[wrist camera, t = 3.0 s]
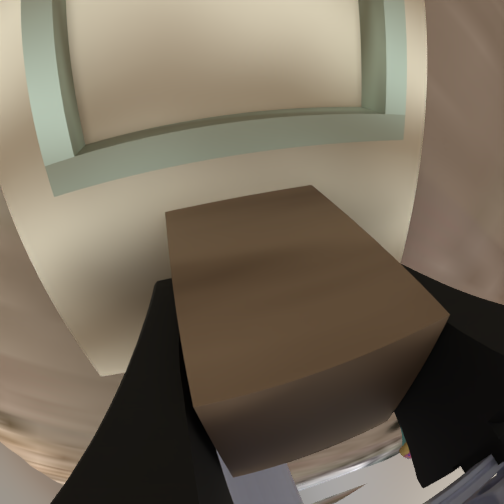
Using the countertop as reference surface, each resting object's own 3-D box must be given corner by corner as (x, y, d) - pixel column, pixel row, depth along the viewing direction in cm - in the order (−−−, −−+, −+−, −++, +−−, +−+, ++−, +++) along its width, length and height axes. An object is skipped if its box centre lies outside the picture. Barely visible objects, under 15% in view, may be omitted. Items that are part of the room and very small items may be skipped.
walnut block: (307, 292, 12) (386, 421, 7) (193, 321, 11) (233, 477, 6) (311, 184, 9) (450, 314, 5) (165, 212, 8) (193, 407, 4)
